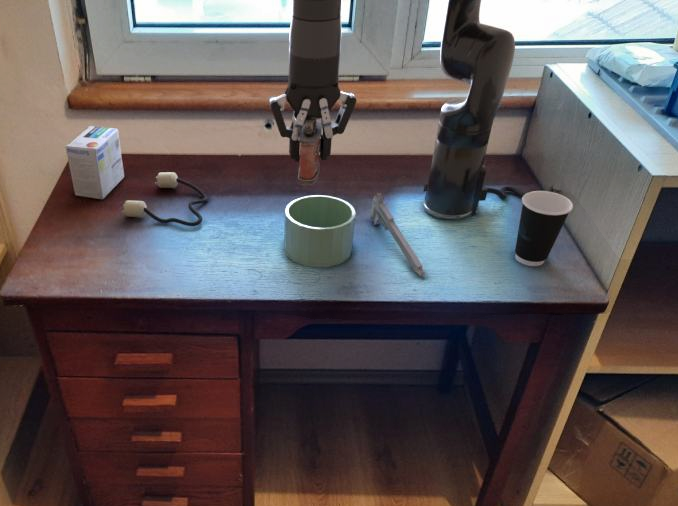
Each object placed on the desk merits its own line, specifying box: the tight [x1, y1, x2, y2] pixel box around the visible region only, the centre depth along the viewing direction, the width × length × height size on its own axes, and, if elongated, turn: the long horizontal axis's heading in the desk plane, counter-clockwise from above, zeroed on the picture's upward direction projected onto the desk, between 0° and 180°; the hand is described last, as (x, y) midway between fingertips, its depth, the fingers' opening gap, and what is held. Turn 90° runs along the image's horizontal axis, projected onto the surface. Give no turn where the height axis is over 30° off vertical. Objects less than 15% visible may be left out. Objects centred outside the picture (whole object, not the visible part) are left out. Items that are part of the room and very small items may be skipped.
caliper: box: [369, 192, 426, 277], centre depth 116 cm, size 20×1×6 cm, turn 16°
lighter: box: [297, 117, 323, 186], centre depth 106 cm, size 8×3×10 cm, turn 169°
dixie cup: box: [514, 190, 574, 267], centre depth 111 cm, size 8×8×11 cm
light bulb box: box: [65, 125, 125, 200], centre depth 133 cm, size 11×7×11 cm, turn 164°
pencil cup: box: [283, 194, 357, 268], centre depth 115 cm, size 12×12×8 cm
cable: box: [121, 171, 208, 227], centre depth 129 cm, size 16×16×4 cm
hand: (309, 158), depth 107 cm, fingers closed on lighter, 4 cm apart
